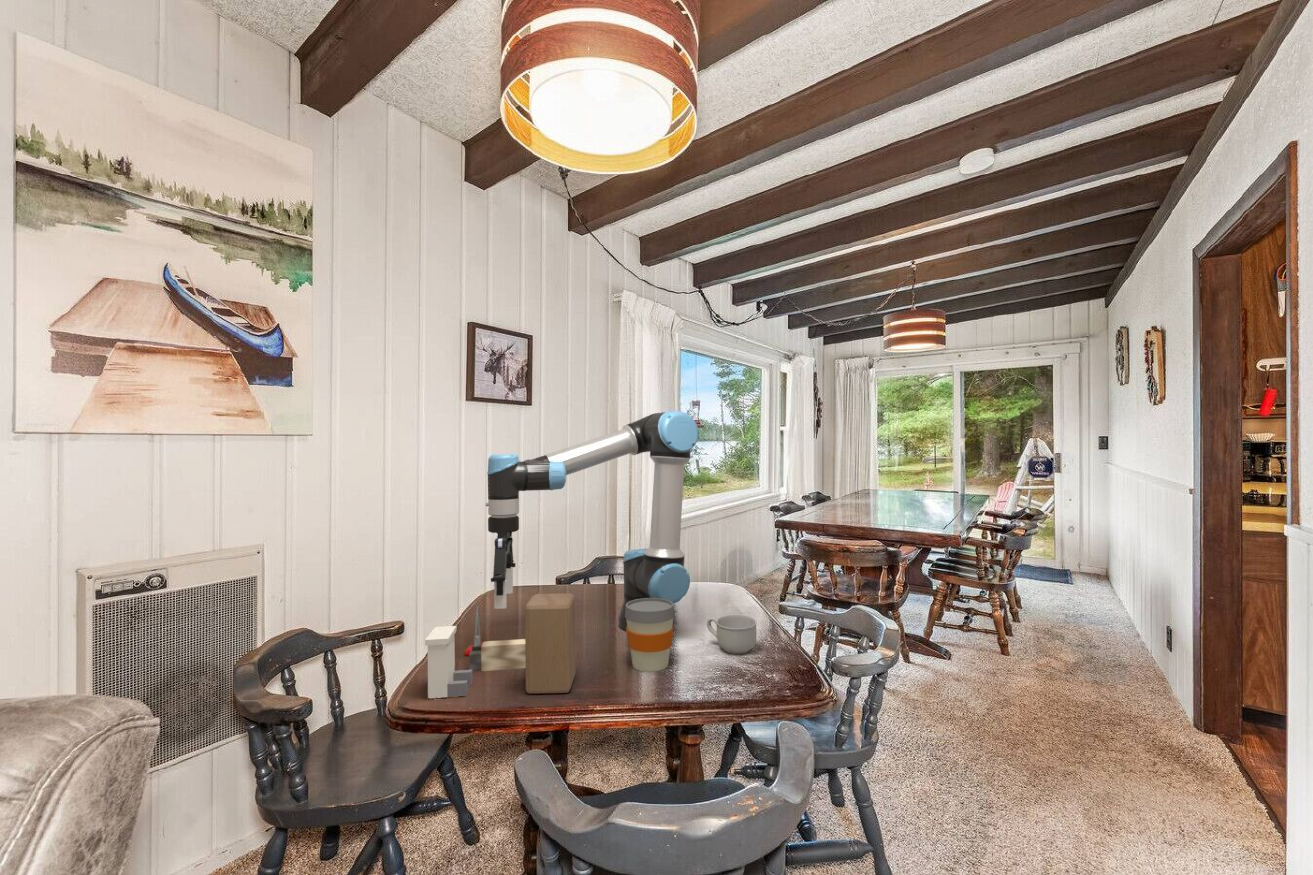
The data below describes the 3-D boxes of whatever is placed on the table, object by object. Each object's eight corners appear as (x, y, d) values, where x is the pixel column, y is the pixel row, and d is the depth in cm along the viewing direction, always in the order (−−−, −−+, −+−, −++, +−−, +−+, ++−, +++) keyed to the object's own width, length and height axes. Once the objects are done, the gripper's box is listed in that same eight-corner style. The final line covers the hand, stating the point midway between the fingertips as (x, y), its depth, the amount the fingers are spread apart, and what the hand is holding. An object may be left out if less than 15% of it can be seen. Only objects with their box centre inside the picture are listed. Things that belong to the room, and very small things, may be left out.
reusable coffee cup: (618, 659, 144) (617, 601, 144) (663, 652, 149) (662, 595, 149) (636, 678, 132) (635, 614, 132) (684, 669, 137) (683, 607, 137)
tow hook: (477, 645, 157) (460, 656, 148) (478, 598, 158) (461, 606, 148) (505, 647, 155) (490, 658, 146) (506, 599, 156) (491, 607, 147)
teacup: (764, 649, 150) (764, 619, 150) (741, 661, 142) (741, 629, 142) (722, 637, 159) (722, 609, 159) (698, 647, 151) (698, 618, 152)
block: (575, 675, 134) (574, 592, 134) (570, 694, 124) (569, 603, 124) (533, 676, 134) (533, 592, 134) (524, 695, 124) (524, 604, 124)
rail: (528, 662, 143) (528, 638, 143) (527, 667, 139) (526, 643, 139) (471, 666, 141) (471, 642, 141) (468, 671, 137) (468, 647, 137)
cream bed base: (472, 681, 132) (472, 624, 132) (465, 697, 123) (465, 637, 123) (435, 683, 131) (435, 626, 131) (425, 700, 122) (425, 639, 122)
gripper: (495, 510, 153) (495, 588, 152) (479, 522, 128) (480, 616, 128) (523, 509, 154) (524, 587, 153) (513, 521, 129) (513, 614, 129)
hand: (504, 600), depth 140 cm, fingers open, 13 cm apart
